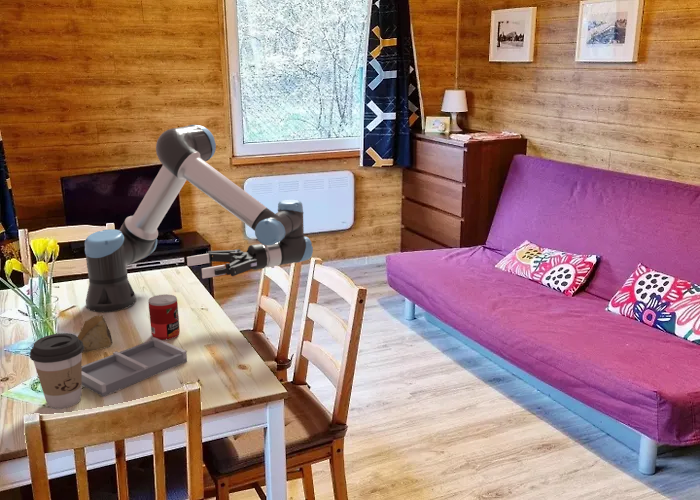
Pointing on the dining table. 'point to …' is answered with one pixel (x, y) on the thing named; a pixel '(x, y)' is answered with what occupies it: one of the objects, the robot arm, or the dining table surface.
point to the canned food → (164, 316)
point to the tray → (131, 366)
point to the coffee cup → (59, 368)
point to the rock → (95, 334)
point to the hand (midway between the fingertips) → (194, 267)
